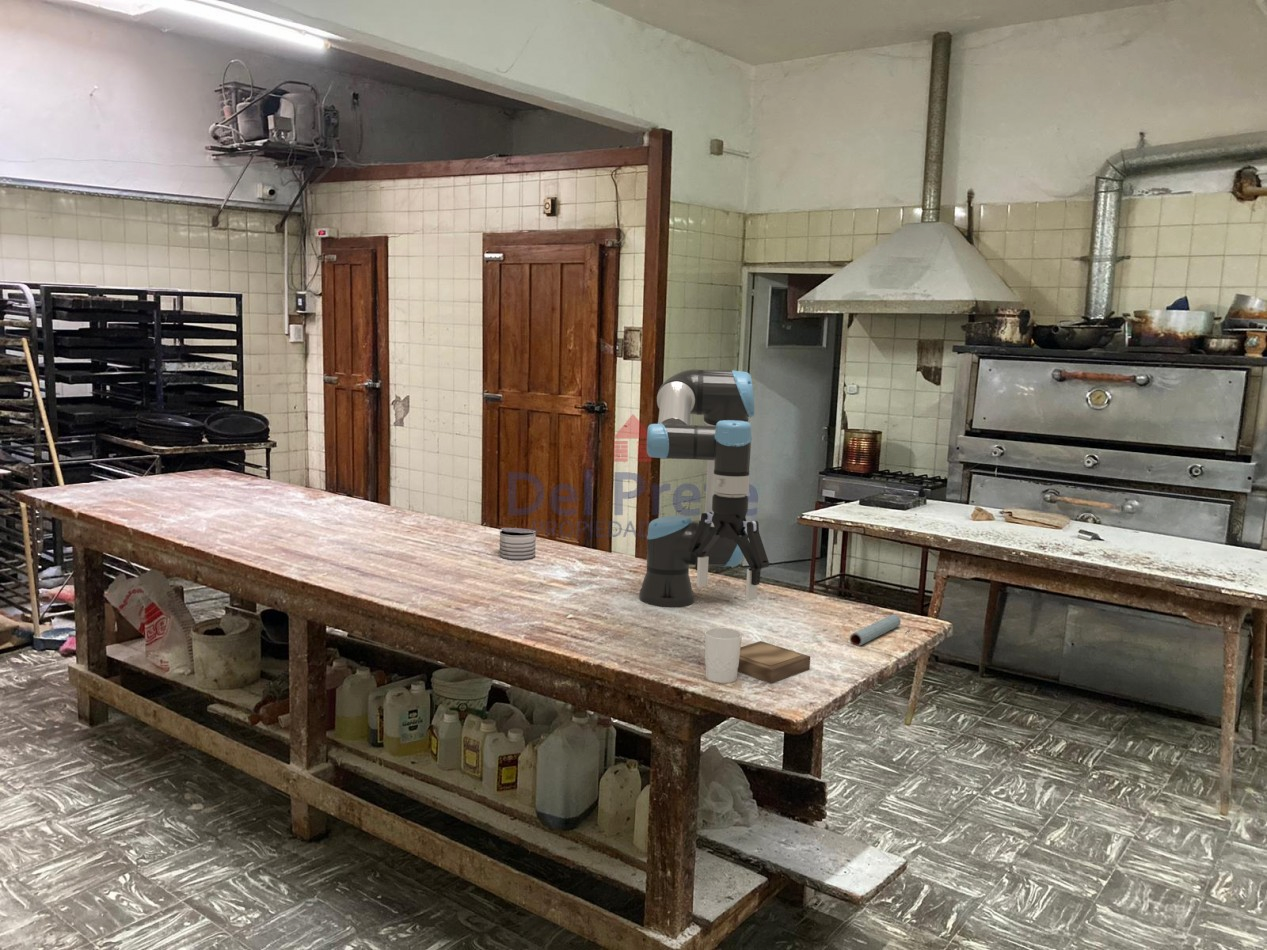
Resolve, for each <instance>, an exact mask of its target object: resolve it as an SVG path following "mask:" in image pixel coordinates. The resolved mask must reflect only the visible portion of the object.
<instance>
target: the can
mask: <svg viewBox="0 0 1267 950" xmlns="http://www.w3.org/2000/svg"><path fill="white" fill-rule="evenodd" d="M498 530H500V531H499V557H500V558H502V560H507V561H517V562H518V561H519V562H524V561H529V560H533V559H535V558H536V548H537V547H536V546H537V544H536V542H537V541H536V538H537V537H536V533H537V530H534V529H530V528H520V527H519V528H518V527H503V528H500V529H498Z"/></svg>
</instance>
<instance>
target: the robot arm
mask: <svg viewBox="0 0 1267 950" xmlns="http://www.w3.org/2000/svg"><path fill="white" fill-rule="evenodd" d="M754 397H755V396H754V386H753V379H752V376H751V374H750V373H749V372H747V371H739V370H735V369H732V370H731V369H723V370H721V369H694V368H693V369H687V370H683V371H679V372H677V373H675V374H673V375H672V376H670V377H669V378H667V379H666V380H665V381H664V382H662V384H661V385H660V387H659V389H658V391H657V395H656V405H657V407H658V409H659V412H658V420H657V423H651V424H649V425H648V427H647V430H646V431H647V434H646V453H647V454H646V455H647V456H648V457H649V458H657V459H658V458H659V459H661V460H665V459H668V460H669V459H671V460H672V459H673V460H703V461H707V464H706V465H707V466H706V467H707V469H706V483H705V484H706V486H705V506H704V508H705V510H704V511H703V512H702V513H701V514H699V517H698V522H694V521H692V518H691V517H690V516H687V515H669V516H662V517H657V518H654V519H652V520H651V521H650V522H649V524H648V527H647V536H646V539H647V551H646V554H647V555H646V570H645V572H646V573H645V576H644V578H643V581H642V585H641V588H640V589H639V594H638V595H639V598H638V599H639V600H640V601H641V602H642V603H644V604H647V605H649V606H653V607H660V608H669V609H670V608H672V609H673V608H674V609H675V608H683V607H688V606H691V605H693V604H694V603H695V592H694V590H693V588H692V583H691V579H690V565H691V566H695V567H694V568H695V571H696V588H703V587H708V582H709V581H708V578H709V577H708V575H709V566H710V567H711V566H712V567H722V568H725V567H737V566H739V565H740V564H741V562H742V560H743V557H744V559H745V561H746V562H747V564H748V566H749V568H747V569H746V581H745V582H746V583H745V584H746V585H745V587H746V588H745V601H749V602H750V601H752V600H753V601H754V600H756V599H757V595H758V594H757V593H758V585H760V583H761V571H762V569H764V568H766V569H767V568H769V567H770V562H769V559H768V556H767V552H766V550H765V549H766V548H765V546H764V544H763V540H762V537H761V534H760V530H759V529H760V528H759V527H760V526H759V522H758V520H753V521H752V520H751V521H747V518H746V517H747V514H748V511H749V510H748V508H749V497H748V496H747V494H749V493H750V466H751V465H750V463H751V448H752V447H751V446H752V441H753V436H752V424H751V423H750V422H749V418H753V417H755V415H756V414H755V398H754ZM692 415H697V416H699V415H700V416H703V423H704V424H705V425H694V424H691V416H692Z"/></svg>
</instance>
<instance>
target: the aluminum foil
mask: <svg viewBox="0 0 1267 950" xmlns="http://www.w3.org/2000/svg"><path fill="white" fill-rule="evenodd" d="M900 625H901V618H900V617H899V615H897V614H889V615H887V616H886V617H884V618H882V619H880V620H878V621H876V622H874V623H871V624H869V625H867V626H865V627H862V628H861V629H859V630H857V631H854V632H853V633H851V634H850V635H849V642H850V643H851V645H852V644H853V645H852V646H855V645H856V647H861V646H862V645H864V644H866V643H868V642H870V641H872V640H874V639H876V638H877V637H880V636H881V635H884V634H887V633H888V632H891V631H893V630H894V629H897V628H898V627H899V626H900ZM890 630H891V631H890ZM910 631H911V630H909V629H908V630H906V632H905V634H907V632H908V633H910Z"/></svg>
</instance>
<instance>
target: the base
mask: <svg viewBox="0 0 1267 950" xmlns="http://www.w3.org/2000/svg"><path fill="white" fill-rule="evenodd" d="M810 668H811V655H808V654H804V653H801V652H798V651H794V650H791V649H787V648H785V647H781V646H778V645H775V644H772V643H768V642H765V641H764V640H759V641H755V642H753V643H750V644H746V645H744V646H743V645H742V646H741V648H740V656H739V667H738V670H737V673H738V672H739V673H741V674H743V675H746V676H749V677H750V678H751V677H752V678H754V679H756V680H760V681H763V682H766V683H768V684H774V683H777V682H779V681H781V680H784V679H788V678H789V677H793V676H795V675H798V674H801V673H803V672H807V671H808V670H810Z"/></svg>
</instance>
